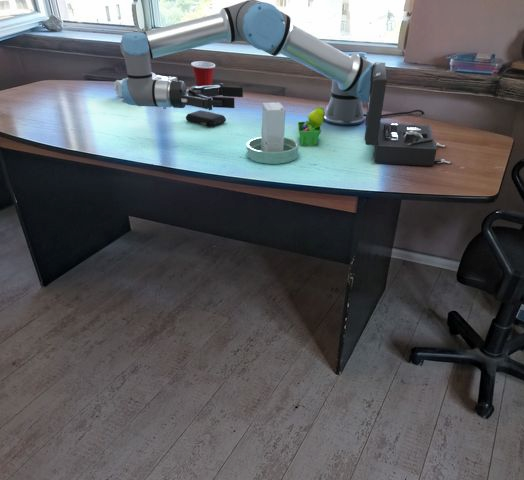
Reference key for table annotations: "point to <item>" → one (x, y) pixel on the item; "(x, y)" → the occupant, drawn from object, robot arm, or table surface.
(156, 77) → the white irregular flat block
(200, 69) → the plastic cup
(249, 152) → the bowl
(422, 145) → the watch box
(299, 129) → the fruit basket
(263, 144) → the cosmetic box
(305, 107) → the table surface
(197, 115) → the carrying case
